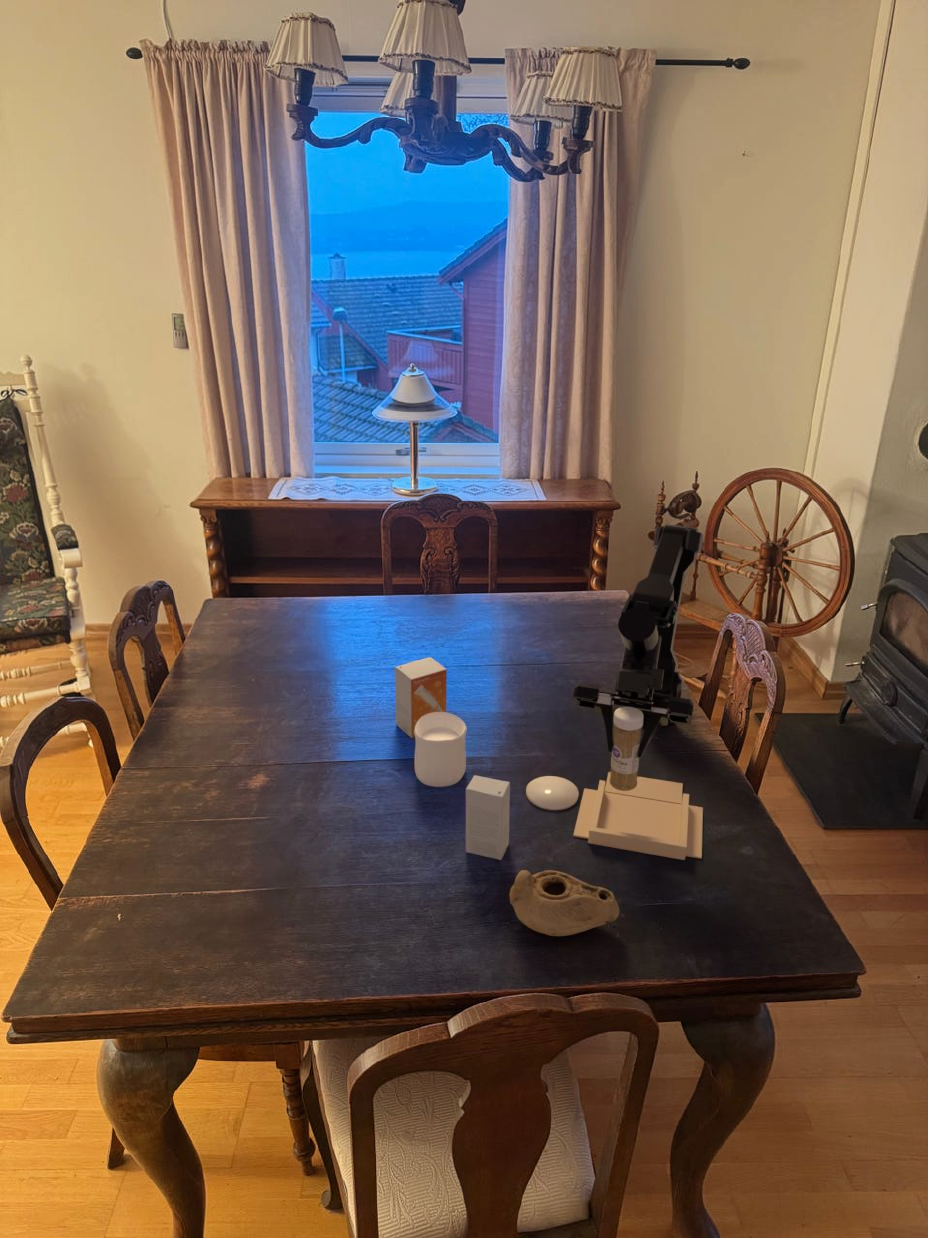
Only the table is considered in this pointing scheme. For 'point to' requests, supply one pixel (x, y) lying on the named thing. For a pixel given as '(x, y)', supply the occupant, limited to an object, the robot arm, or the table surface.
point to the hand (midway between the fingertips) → (624, 755)
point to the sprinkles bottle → (626, 748)
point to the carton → (642, 819)
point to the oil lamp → (560, 903)
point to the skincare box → (487, 817)
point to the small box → (419, 692)
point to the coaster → (552, 793)
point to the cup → (440, 749)
